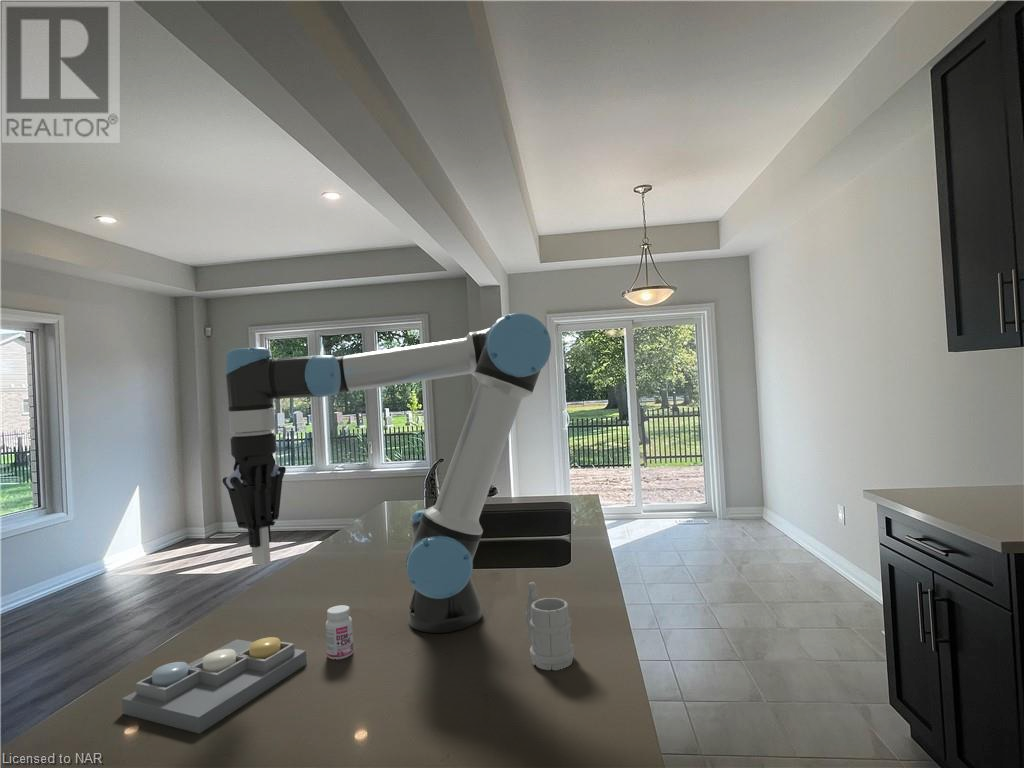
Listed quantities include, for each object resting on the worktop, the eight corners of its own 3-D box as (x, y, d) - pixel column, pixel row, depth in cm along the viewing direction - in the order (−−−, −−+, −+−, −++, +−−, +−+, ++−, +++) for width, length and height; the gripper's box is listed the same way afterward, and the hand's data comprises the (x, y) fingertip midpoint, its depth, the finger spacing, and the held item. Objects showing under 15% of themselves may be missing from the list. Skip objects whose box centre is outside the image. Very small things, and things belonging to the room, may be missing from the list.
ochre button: (287, 652, 105) (286, 639, 105) (265, 665, 100) (264, 651, 100) (265, 648, 107) (265, 635, 107) (243, 661, 102) (242, 647, 102)
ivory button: (242, 665, 101) (242, 651, 101) (218, 679, 96) (217, 664, 96) (221, 661, 103) (220, 647, 103) (196, 674, 98) (195, 660, 98)
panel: (306, 663, 106) (305, 640, 106) (199, 733, 86) (197, 704, 86) (237, 651, 113) (236, 629, 113) (122, 713, 93) (121, 687, 93)
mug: (545, 676, 97) (541, 603, 97) (511, 649, 108) (508, 584, 108) (583, 663, 101) (579, 593, 101) (547, 638, 111) (543, 575, 111)
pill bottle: (339, 662, 106) (336, 615, 106) (321, 657, 109) (319, 611, 109) (359, 651, 110) (356, 606, 110) (341, 646, 113) (339, 602, 113)
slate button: (195, 678, 97) (194, 664, 97) (167, 694, 92) (166, 678, 92) (174, 674, 99) (173, 660, 99) (145, 689, 94) (144, 674, 94)
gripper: (263, 430, 114) (271, 551, 114) (207, 438, 102) (216, 573, 102) (294, 429, 112) (302, 553, 112) (240, 437, 99) (250, 576, 100)
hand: (261, 563), depth 107 cm, fingers closed
